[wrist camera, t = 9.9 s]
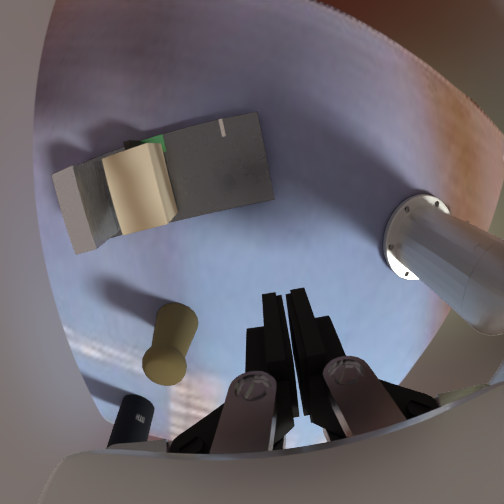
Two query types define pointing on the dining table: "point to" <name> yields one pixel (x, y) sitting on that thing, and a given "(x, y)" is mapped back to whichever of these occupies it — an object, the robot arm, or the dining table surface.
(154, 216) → the block
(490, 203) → the dining table surface
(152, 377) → the olive brown pawn
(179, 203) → the gauge rail
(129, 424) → the black water bottle
